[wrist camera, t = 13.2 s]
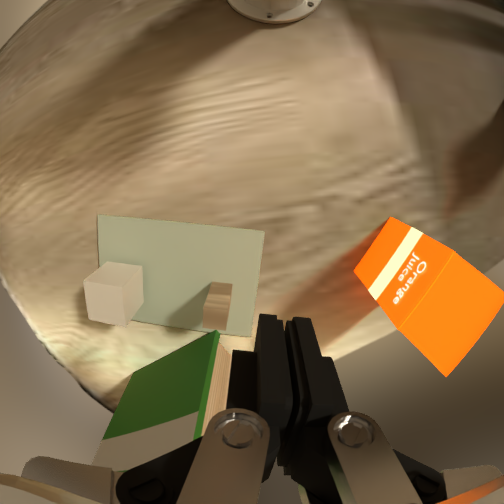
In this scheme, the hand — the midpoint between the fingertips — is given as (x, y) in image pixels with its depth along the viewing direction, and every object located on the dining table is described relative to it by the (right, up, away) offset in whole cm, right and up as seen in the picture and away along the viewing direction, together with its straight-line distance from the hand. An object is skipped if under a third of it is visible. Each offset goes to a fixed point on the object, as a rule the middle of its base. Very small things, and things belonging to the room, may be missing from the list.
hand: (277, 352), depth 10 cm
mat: (-11, 0, +29) cm, 31 cm away
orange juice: (+18, +3, +28) cm, 33 cm away
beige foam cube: (-18, -1, +28) cm, 33 cm away
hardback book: (-11, -15, +33) cm, 38 cm away
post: (-5, -2, +29) cm, 29 cm away
